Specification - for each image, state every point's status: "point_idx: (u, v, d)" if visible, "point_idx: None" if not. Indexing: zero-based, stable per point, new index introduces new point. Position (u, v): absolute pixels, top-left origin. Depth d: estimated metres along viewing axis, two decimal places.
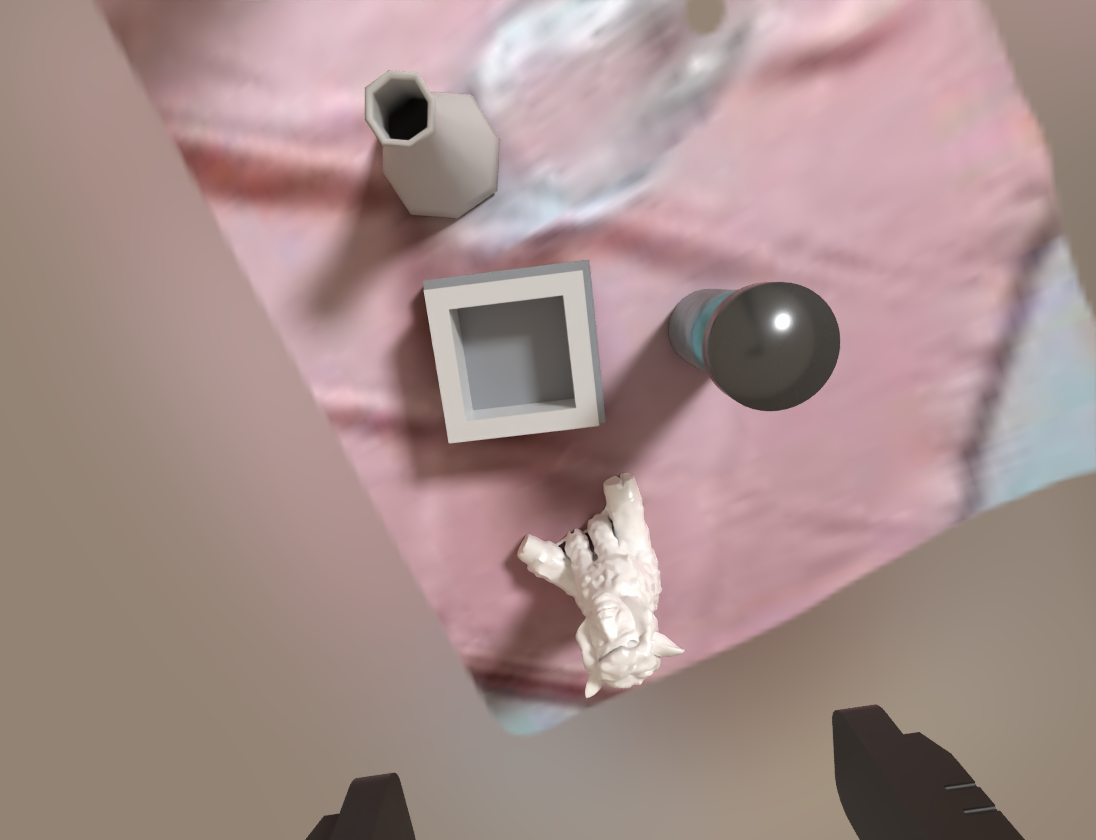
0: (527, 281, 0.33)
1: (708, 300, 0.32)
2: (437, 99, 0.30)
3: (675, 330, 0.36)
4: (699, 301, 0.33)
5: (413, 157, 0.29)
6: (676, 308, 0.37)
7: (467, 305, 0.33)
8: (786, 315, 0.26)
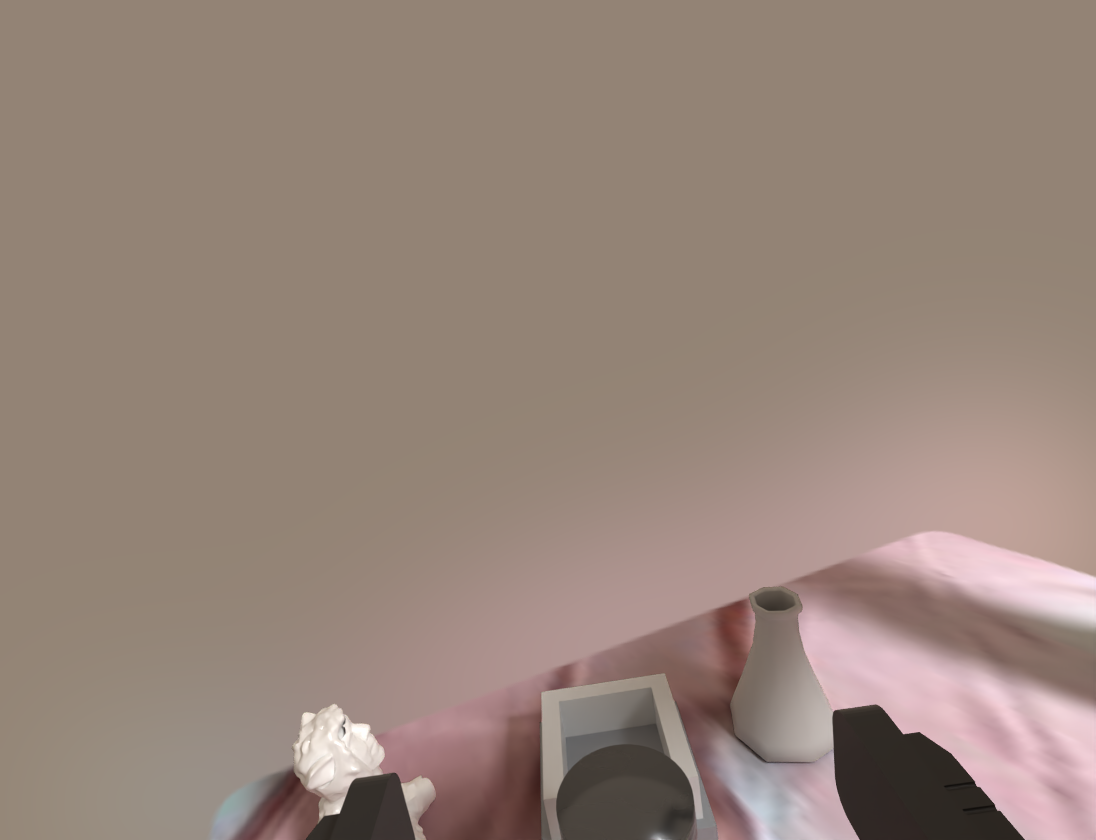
0: (680, 735, 0.37)
1: None
2: (806, 659, 0.39)
3: None
4: None
5: (755, 637, 0.40)
6: None
7: (655, 697, 0.40)
8: (659, 804, 0.24)
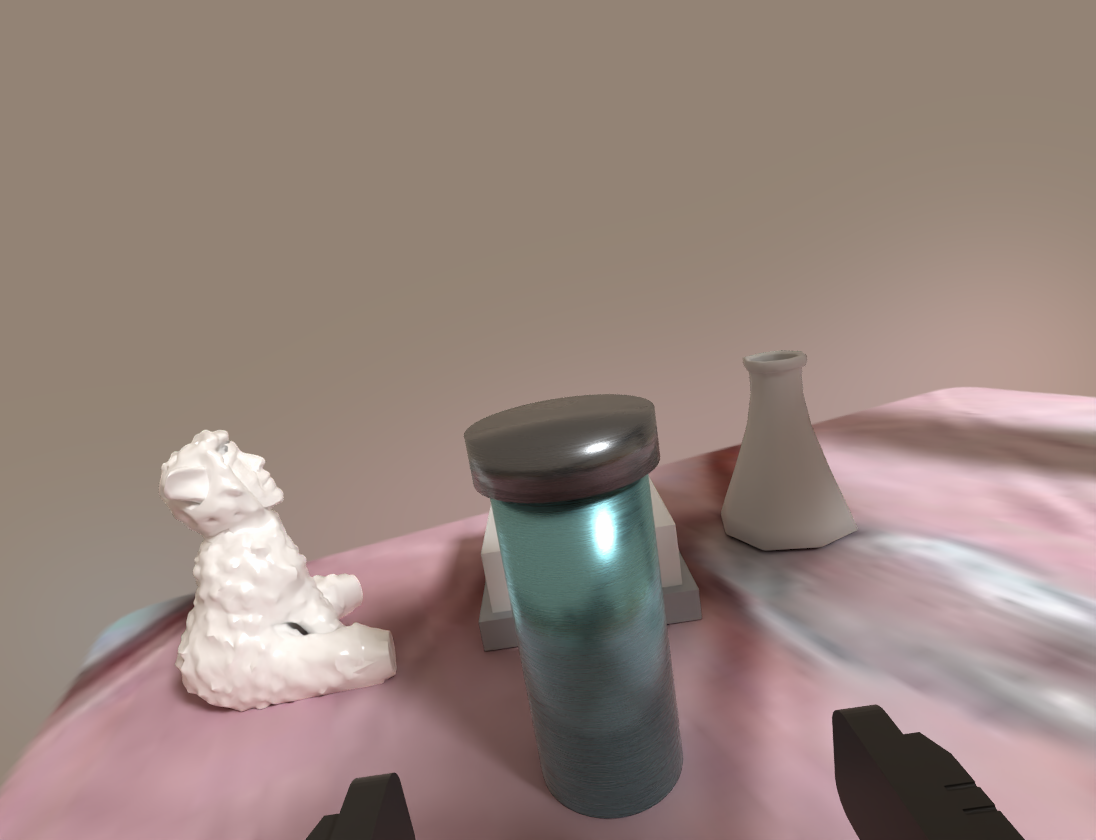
0: (656, 500, 0.30)
1: None
2: (811, 428, 0.32)
3: None
4: None
5: (750, 410, 0.33)
6: None
7: None
8: (605, 415, 0.17)
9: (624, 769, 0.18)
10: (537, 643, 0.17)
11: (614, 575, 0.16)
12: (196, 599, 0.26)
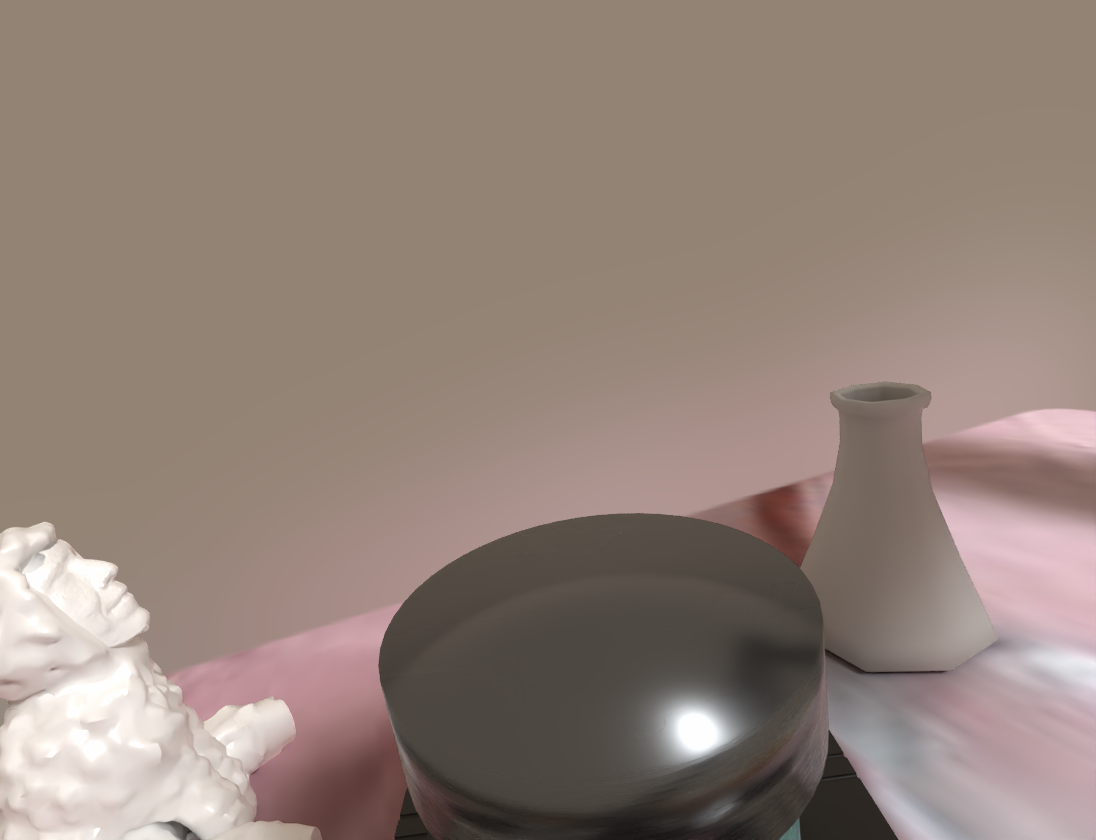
0: None
1: None
2: (933, 494, 0.23)
3: None
4: None
5: (841, 466, 0.24)
6: None
7: None
8: (703, 608, 0.07)
9: None
10: None
11: None
12: None
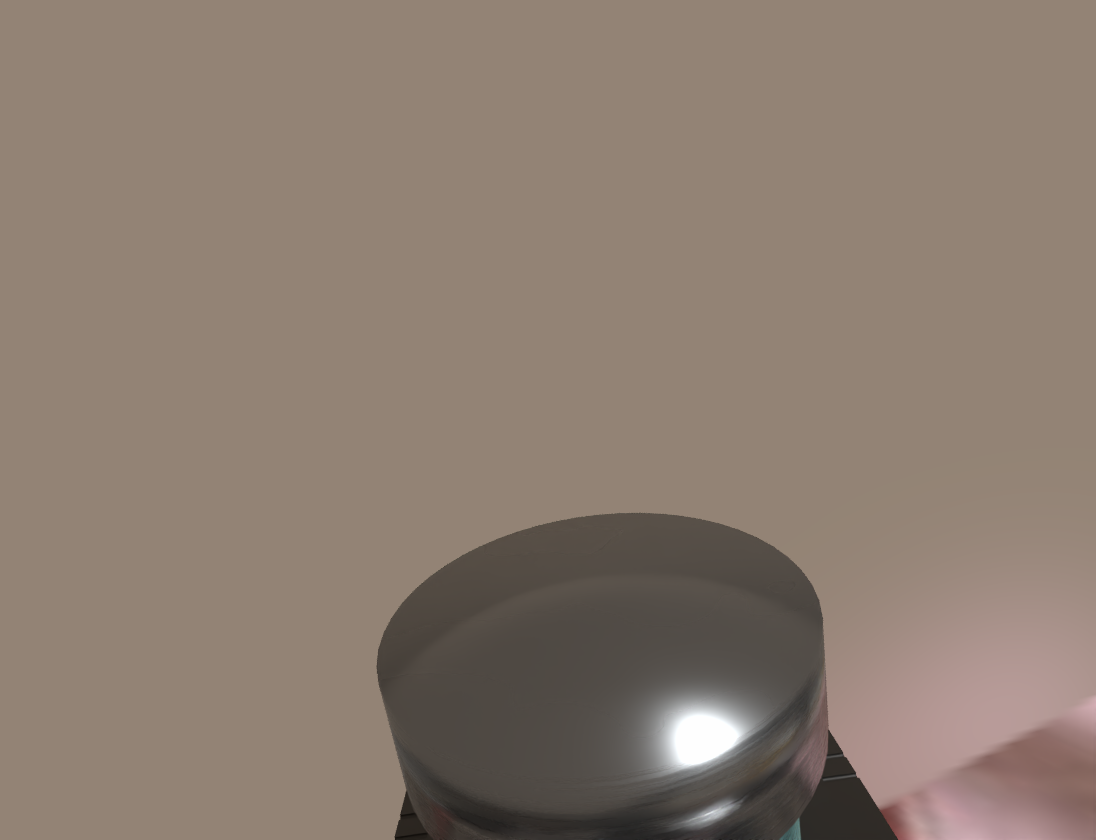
0: None
1: None
2: None
3: None
4: None
5: None
6: None
7: None
8: (702, 608, 0.07)
9: None
10: None
11: None
12: None
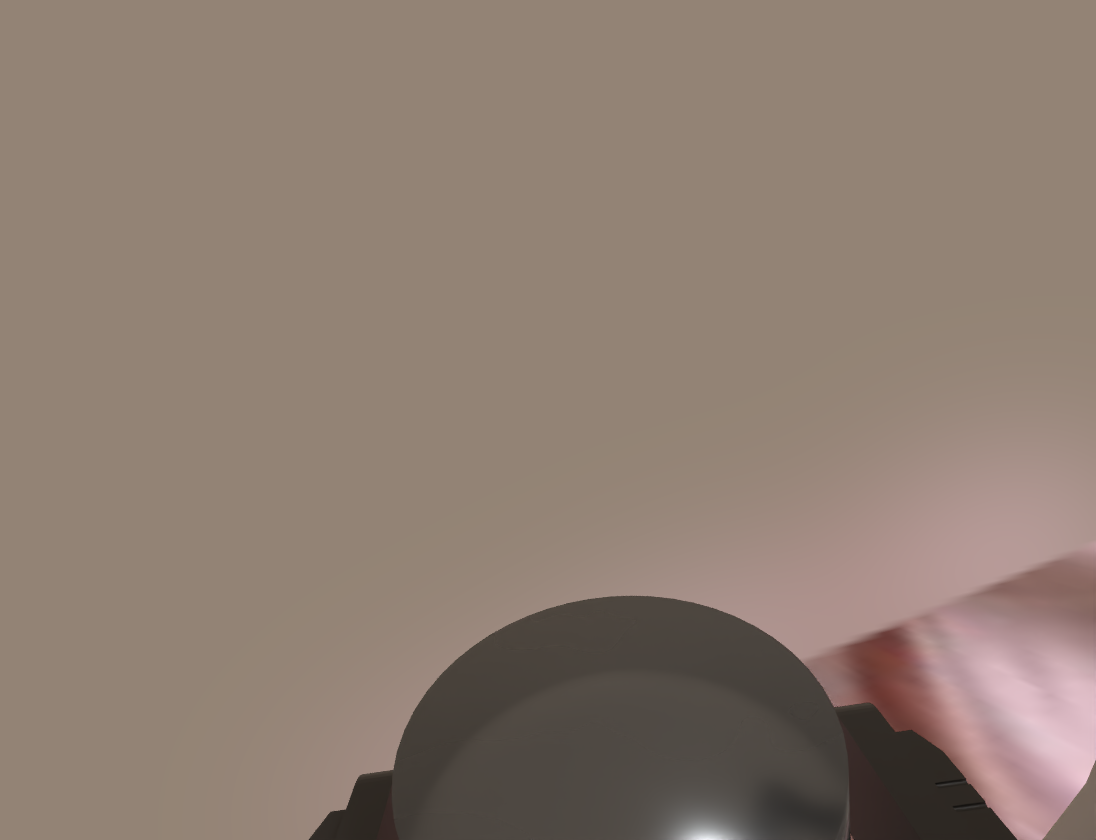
0: None
1: None
2: None
3: None
4: None
5: None
6: None
7: None
8: (723, 736, 0.07)
9: None
10: None
11: None
12: None
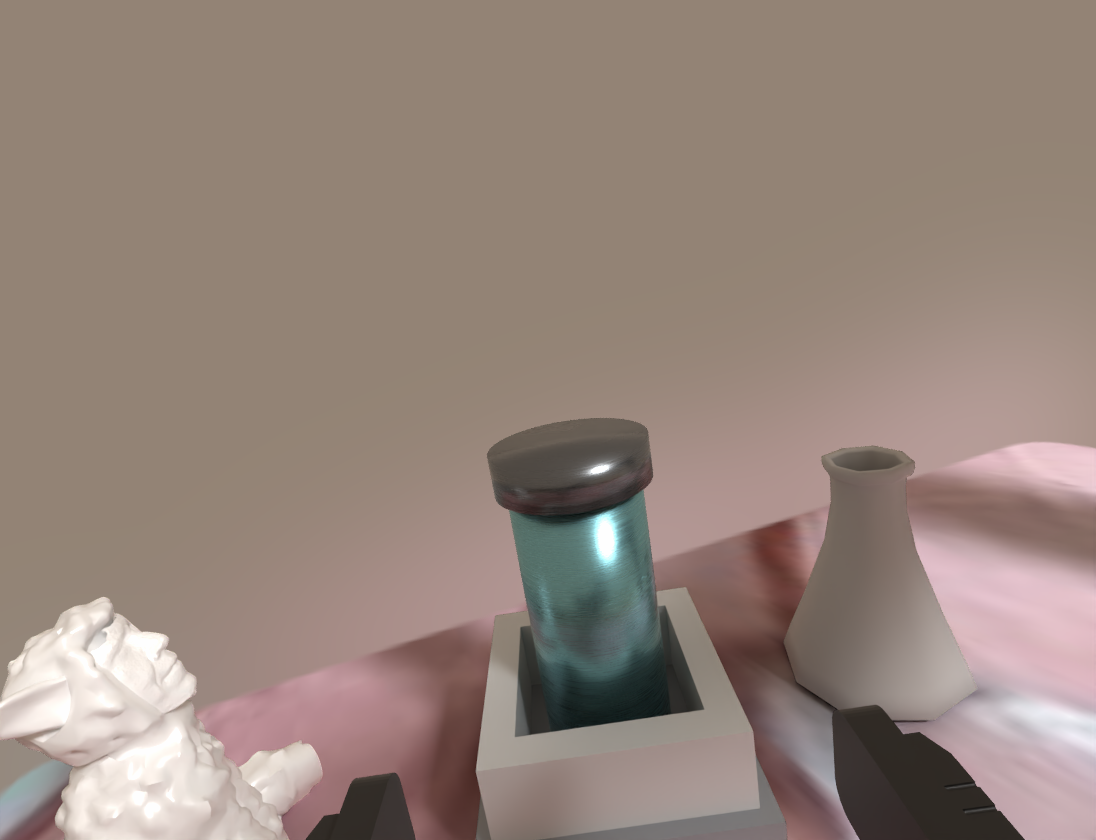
0: (716, 669, 0.22)
1: None
2: (917, 554, 0.24)
3: None
4: None
5: (832, 525, 0.25)
6: None
7: (672, 618, 0.25)
8: (607, 439, 0.20)
9: None
10: (549, 631, 0.21)
11: (615, 574, 0.20)
12: None
